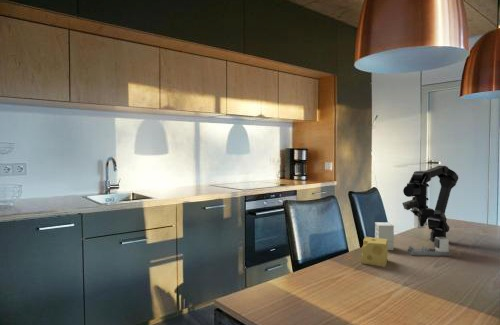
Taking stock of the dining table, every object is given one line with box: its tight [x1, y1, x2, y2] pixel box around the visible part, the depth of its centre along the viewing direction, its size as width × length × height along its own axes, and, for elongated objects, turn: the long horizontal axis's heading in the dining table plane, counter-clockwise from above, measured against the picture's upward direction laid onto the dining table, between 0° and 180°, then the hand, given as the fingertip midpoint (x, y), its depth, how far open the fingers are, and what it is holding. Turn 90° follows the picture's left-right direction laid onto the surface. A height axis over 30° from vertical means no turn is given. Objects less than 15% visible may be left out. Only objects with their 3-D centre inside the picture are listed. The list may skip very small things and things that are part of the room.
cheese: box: [360, 236, 389, 268], centre depth 147 cm, size 10×11×10 cm
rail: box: [407, 237, 451, 257], centre depth 158 cm, size 18×4×8 cm, turn 87°
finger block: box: [413, 214, 428, 229], centre depth 171 cm, size 5×4×6 cm
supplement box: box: [374, 221, 395, 251], centre depth 168 cm, size 7×7×13 cm
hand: (419, 225), depth 171 cm, fingers closed on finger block, 4 cm apart
